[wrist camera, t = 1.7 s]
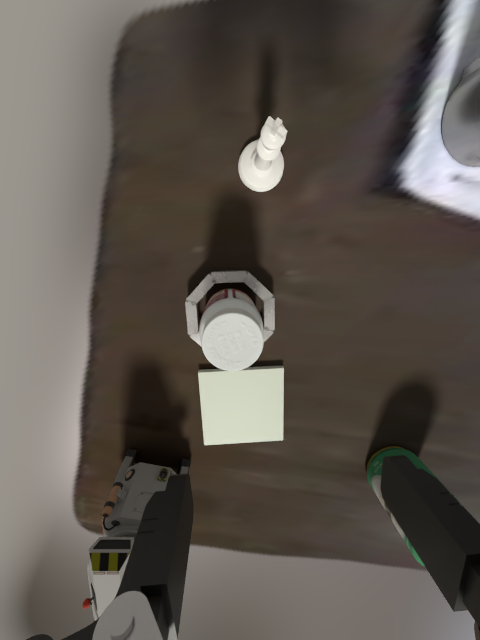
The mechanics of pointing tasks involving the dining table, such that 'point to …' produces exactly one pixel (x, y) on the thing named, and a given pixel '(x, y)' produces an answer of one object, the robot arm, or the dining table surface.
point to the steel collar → (229, 277)
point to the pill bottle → (231, 330)
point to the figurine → (122, 526)
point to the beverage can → (375, 480)
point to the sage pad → (242, 404)
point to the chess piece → (264, 158)
